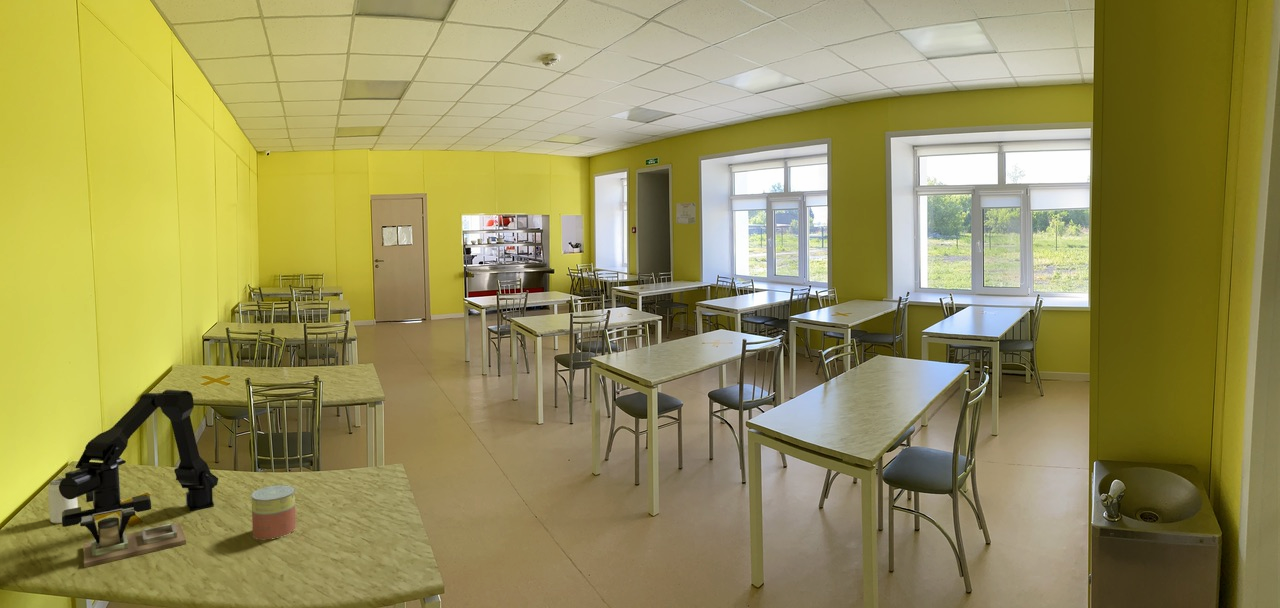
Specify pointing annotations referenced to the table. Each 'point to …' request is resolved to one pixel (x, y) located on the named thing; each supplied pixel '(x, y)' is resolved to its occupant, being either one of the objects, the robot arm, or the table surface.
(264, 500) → the canned food
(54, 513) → the can
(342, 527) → the table surface
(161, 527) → the board
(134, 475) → the table surface
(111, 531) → the cylinder
